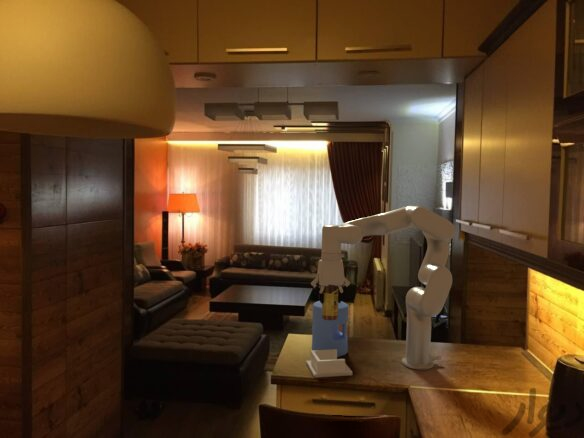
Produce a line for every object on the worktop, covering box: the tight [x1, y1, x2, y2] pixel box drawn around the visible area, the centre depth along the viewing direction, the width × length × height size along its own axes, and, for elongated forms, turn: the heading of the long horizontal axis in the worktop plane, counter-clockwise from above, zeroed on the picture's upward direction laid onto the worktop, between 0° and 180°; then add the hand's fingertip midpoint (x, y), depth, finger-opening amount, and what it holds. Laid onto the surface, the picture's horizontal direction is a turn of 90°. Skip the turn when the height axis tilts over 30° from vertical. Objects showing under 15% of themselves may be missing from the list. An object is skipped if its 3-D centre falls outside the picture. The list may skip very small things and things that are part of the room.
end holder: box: [305, 349, 353, 378], centre depth 180 cm, size 15×14×6 cm
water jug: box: [311, 300, 350, 358], centre depth 199 cm, size 16×16×28 cm
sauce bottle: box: [322, 284, 338, 320], centre depth 178 cm, size 6×6×20 cm
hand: (330, 302), depth 178 cm, fingers closed on sauce bottle, 6 cm apart
